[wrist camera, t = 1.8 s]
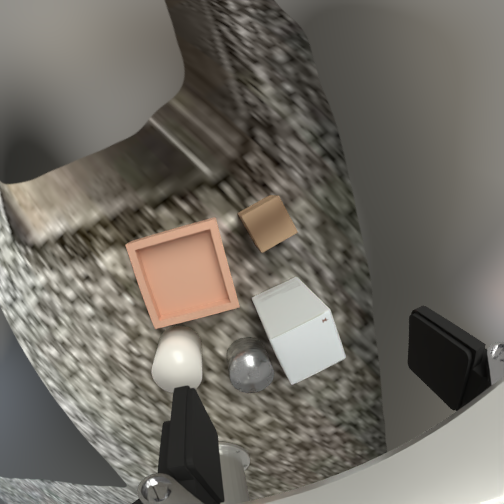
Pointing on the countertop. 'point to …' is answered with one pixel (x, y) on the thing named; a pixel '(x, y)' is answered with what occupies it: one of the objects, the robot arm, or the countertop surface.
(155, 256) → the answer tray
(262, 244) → the walnut block
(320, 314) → the supplement box
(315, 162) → the countertop surface
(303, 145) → the countertop surface
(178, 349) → the white rounded lump
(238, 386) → the grey tin
